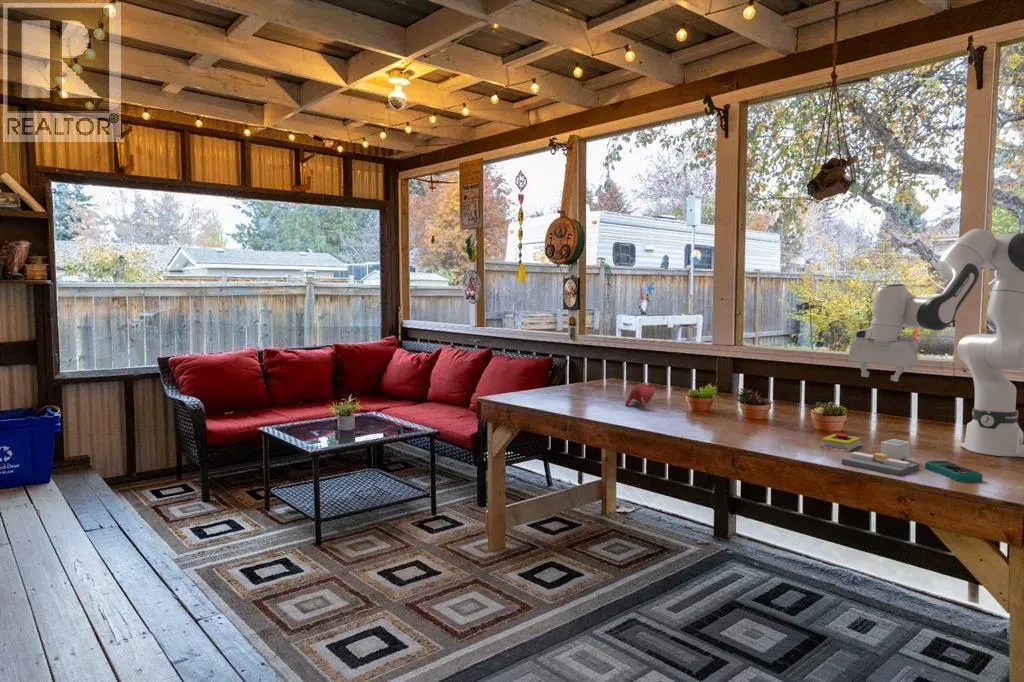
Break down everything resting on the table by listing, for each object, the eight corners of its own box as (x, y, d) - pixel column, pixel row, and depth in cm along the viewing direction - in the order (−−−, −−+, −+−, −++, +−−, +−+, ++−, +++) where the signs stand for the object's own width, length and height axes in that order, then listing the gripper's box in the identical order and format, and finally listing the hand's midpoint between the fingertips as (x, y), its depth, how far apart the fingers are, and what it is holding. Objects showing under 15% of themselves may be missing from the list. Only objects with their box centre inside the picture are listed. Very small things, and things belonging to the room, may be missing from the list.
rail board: (861, 457, 213) (861, 449, 213) (918, 469, 199) (918, 460, 199) (841, 463, 206) (842, 455, 205) (900, 475, 192) (900, 466, 192)
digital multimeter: (959, 483, 186) (960, 473, 185) (923, 469, 200) (924, 459, 200) (984, 483, 186) (985, 473, 186) (946, 469, 201) (947, 459, 200)
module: (892, 457, 214) (893, 438, 213) (908, 460, 210) (909, 441, 209) (880, 460, 209) (881, 441, 208) (897, 464, 205) (897, 444, 204)
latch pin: (876, 456, 204) (876, 452, 204) (886, 458, 202) (887, 454, 202) (872, 457, 203) (873, 454, 203) (883, 459, 200) (883, 455, 200)
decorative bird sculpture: (641, 420, 298) (664, 396, 297) (626, 406, 297) (649, 382, 296) (630, 409, 326) (651, 387, 325) (616, 396, 325) (637, 374, 325)
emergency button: (863, 433, 231) (846, 440, 220) (862, 446, 231) (846, 453, 221) (835, 429, 237) (818, 436, 227) (834, 441, 238) (817, 448, 227)
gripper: (925, 338, 199) (918, 384, 200) (860, 333, 217) (855, 374, 218) (913, 337, 196) (907, 383, 197) (848, 331, 214) (843, 374, 215)
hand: (879, 379), depth 207 cm, fingers open, 8 cm apart
